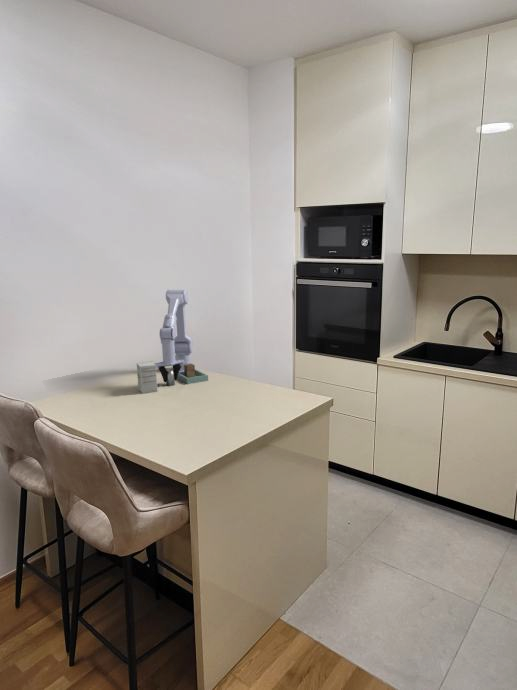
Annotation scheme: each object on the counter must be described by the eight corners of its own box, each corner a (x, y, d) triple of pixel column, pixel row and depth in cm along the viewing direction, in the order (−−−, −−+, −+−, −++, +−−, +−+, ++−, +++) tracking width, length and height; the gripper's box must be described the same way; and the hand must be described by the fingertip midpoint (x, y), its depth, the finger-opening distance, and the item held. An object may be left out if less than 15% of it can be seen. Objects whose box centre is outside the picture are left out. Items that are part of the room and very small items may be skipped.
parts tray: (176, 377, 237) (175, 372, 236) (196, 374, 242) (196, 369, 242) (187, 384, 225) (186, 378, 225) (208, 380, 231) (208, 375, 230)
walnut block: (184, 376, 237) (183, 364, 235) (191, 375, 239) (191, 363, 237) (187, 378, 233) (187, 366, 232) (195, 376, 235) (194, 365, 234)
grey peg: (165, 384, 225) (164, 370, 224) (172, 383, 227) (172, 369, 226) (168, 386, 222) (167, 372, 220) (176, 385, 224) (175, 370, 222)
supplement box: (138, 389, 218) (136, 362, 215) (154, 387, 221) (152, 361, 218) (141, 393, 211) (139, 366, 209) (157, 391, 214) (156, 364, 212)
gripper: (156, 356, 214) (158, 385, 217) (186, 352, 222) (187, 380, 224) (151, 353, 220) (153, 381, 223) (180, 349, 228) (182, 377, 230)
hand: (170, 380), depth 224 cm, fingers open, 5 cm apart
